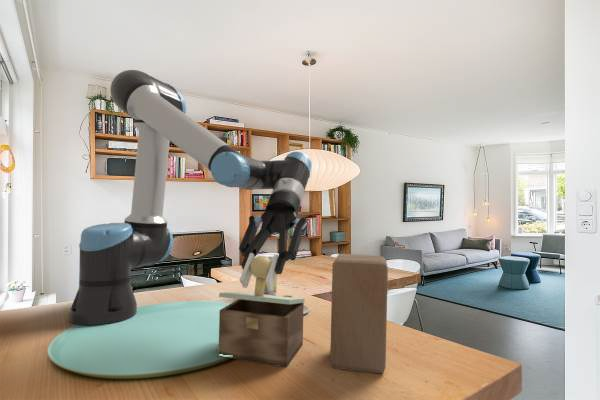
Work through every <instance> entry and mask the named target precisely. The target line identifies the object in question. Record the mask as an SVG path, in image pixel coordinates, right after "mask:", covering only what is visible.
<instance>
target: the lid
mask: <svg viewBox="0 0 600 400" xmlns="http://www.w3.org/2000/svg"><path fill="white" fill-rule="evenodd" d="M271 263H272V261H271V259H270V258H268V257H266V256H260V255H258V256H255V259H254V260H253V261H252V263H251V266H250V269H251V273H252V276H254V278H258V279H255V287H254V292H241V291H239V292H219V294H218V297H219V298H227V299H233V300H238V299H243V300H252V301H262V302H271V303H280V304H297V303H304V304H305V300H306V299H305V298H304V297H303V298H302V297H293V296H292V297H284V296H285V295H275V296H274V295H264V286H265V278H267V275H268V272H269V269H270V266H271Z"/></svg>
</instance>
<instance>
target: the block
mask: <svg viewBox="0 0 600 400" xmlns="http://www.w3.org/2000/svg"><path fill="white" fill-rule="evenodd" d="M331 268H332V270H331V271H332V272H331V274H332V275H331V276H332V278H331V308H330V309H331V310H330V312H331V313H330V314H331V316H330V318H331V319H330V346H329V347H330V349H329V351H330V353H329V354H330V358H329V362H330V365H331V367H332V368H334V369H342V370H343V369H344V370H351V371H356V372H357V371H358V372H367V373H368V372H369V373H376V374H383V373H384V372H385V370H386V360H387V359H386V358H387V357H386V356H387V355H386V353H387V351H386V350H387V320H388V319H387V318H388V314H387V313H388V279H389V278H388V275H389V274H388V273H389V267H388V263H387V259H386V257H384V256H382V255H371V254H356V253H355V254H352V253H350V254H349V253H340V254H337V256H336V258H335V259H334V261H333V262H332V267H331Z"/></svg>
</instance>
